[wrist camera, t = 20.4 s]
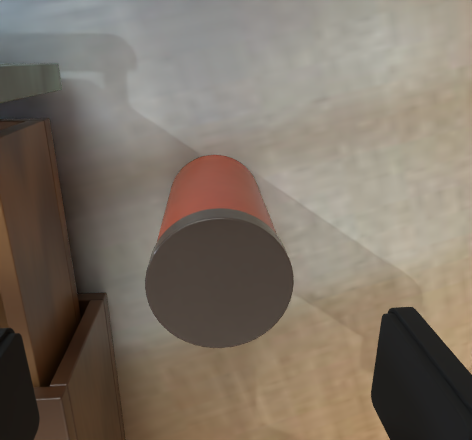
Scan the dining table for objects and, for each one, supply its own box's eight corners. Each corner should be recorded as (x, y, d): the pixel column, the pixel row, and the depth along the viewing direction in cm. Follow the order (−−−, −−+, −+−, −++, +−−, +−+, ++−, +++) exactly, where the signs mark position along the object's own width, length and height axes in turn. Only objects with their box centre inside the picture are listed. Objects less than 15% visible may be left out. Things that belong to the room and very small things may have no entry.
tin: (166, 153, 23) (138, 220, 14) (260, 152, 23) (297, 215, 14) (171, 241, 25) (150, 351, 16) (259, 238, 25) (290, 345, 16)
